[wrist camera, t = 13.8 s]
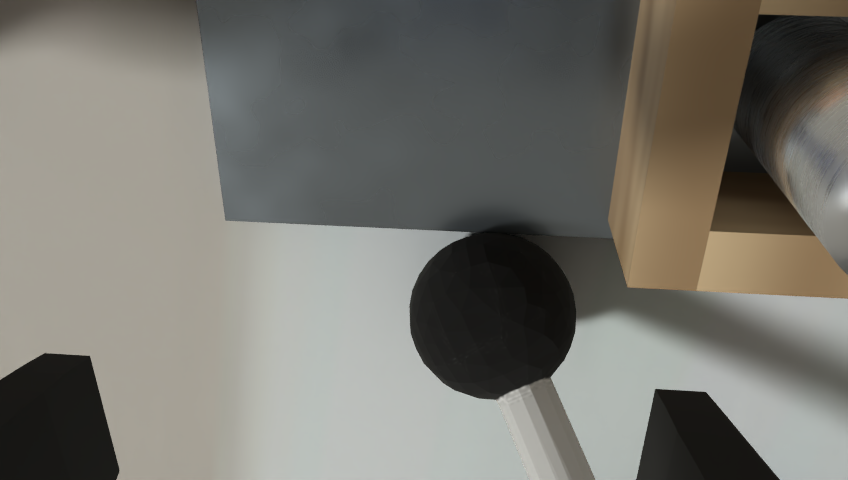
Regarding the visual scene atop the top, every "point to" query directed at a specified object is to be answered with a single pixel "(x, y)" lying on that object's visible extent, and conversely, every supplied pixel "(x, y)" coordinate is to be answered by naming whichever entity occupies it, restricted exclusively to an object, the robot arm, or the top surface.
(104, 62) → the top surface
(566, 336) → the mechanical valve
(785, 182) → the cylinder
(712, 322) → the top surface
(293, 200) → the slate board
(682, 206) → the frame
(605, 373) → the top surface
